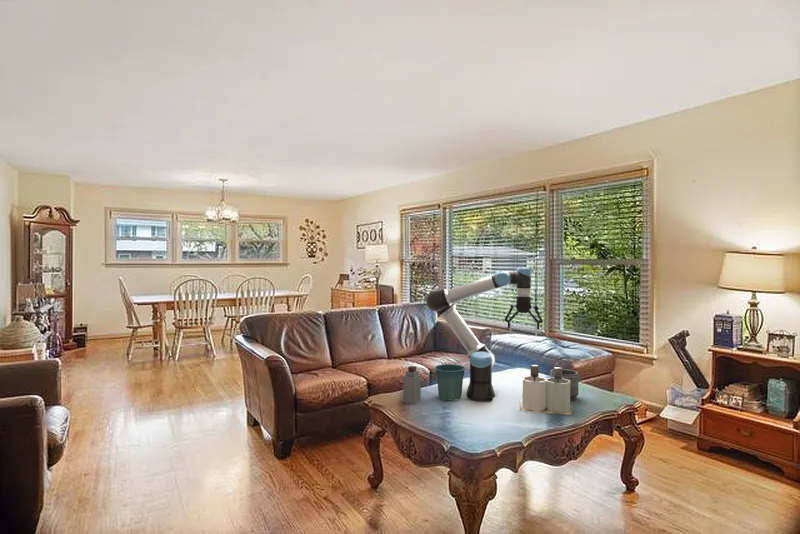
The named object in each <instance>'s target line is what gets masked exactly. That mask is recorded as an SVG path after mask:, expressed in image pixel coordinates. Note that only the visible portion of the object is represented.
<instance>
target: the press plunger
mask: <svg viewBox="0 0 800 534" xmlns="http://www.w3.org/2000/svg"><path fill="white" fill-rule="evenodd" d="M539 373H540V372H539V365H537V364H531V365H530V375H529V376H532V377H533V381H534V382H536V377H540V376H539Z"/></svg>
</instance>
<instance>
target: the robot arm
mask: <svg viewBox="0 0 800 534" xmlns="http://www.w3.org/2000/svg"><path fill="white" fill-rule="evenodd" d="M531 270H532V269H531V268H530V267H517V268H516V270H515V271H509V270H505V271H504V270H498V271H497V270H495V271H494V274H491V275H488V276H486V277H482V278H479V279H476V280H474V281H470V282H467V283H465V284H462V285H460V286H459V285H458V286H456V287H452V288H450V289H447V288H444V289H443V288H441V289H435V290H433V291H431V292H429V294H428V295H427V296H426V298H425V303H426V304H425V305H426V306H427V308H428V309H429V310H430V311H432V312H436V314H437V316H438V317H440V318H443V319H444V320H445V322H446V324H447V325H448V326H449V328H450V329H451V330H452V332H453V333H454V335H455V336H456V338H457V339H458V341H460V343H461V345H462V346H463V347H464V348H465V350H466V351H467V357H468V359H469V384H468V385H467V386H468V387H467V389H466V392H465V393H466V395H465V396H466V398H467V399H468V400H470V401H474V402H490V401H491V402H492V401H493V399H494V398H495V397H496V393H495V390H494V387H493V382H492V381H493V378H492V377H493V368H495V366H496V357H495V354H494V353H493V352H492V351H491V350H490V349H488V348H487V346H486V344H485V343H481V342H480V341H479V340H478V338H477V336H475V334H474V332H473V331H472V330H471V328H470V327H469V326H468V324H467V323H466V321H465V320H464V319H463V318H462V316H461V315H460V313H459V312H458V311H457V308H456V307H457V305H456V303H457V302H460V301H463V300H467V299H468V298H472V297H475V296H478V295H482V294H484V293H487V292H491V291H494V290H497V289H499V288H502V287H507V286H516V304H510V307H509V310H508V312H507V314H506V315H505V317H504V321H505V322H507V329H509V335H512V320H513V319H514V318H515V317H516V316H517V315H518V314H519V313H520V314H529V315H530V316H531V317H532V319H533V320H534V321H535V325H534V326H535V337H536V336H538V330H539V329H540V324H541V323H543V321H544V320H543V319H542V317H541V315H540V312H539V311H538V310H539V309H538V306H537V305H536V304H534V305H532V297H531V296H532V271H531ZM514 309H516V310H515V312H514V313H513V314H512V315H511V313H512V312H513V310H514ZM531 309H532V310H534V311H535V313H536V315H534V314H533V312H532V311H531ZM510 315H511V316H510ZM536 316H537V317H538V318H537V317H536ZM509 317H510V318H509Z"/></svg>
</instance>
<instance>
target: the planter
mask: <svg viewBox="0 0 800 534" xmlns="http://www.w3.org/2000/svg"><path fill="white" fill-rule="evenodd" d="M552 377H553V378H554V368H553V369H550V373H549V378H552ZM562 378H563V379H567V380H570V402H571V401H574V400H576V398H577V397H578V395H579V381H580V380H579V372H578V371H576V370H573V369H567V368H562Z"/></svg>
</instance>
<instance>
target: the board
mask: <svg viewBox="0 0 800 534" xmlns="http://www.w3.org/2000/svg"><path fill="white" fill-rule="evenodd" d="M518 405H519V406H518V407H519V411H520V412H533V413H545V414H555V415H556V414H557V415H558V414H559V415H570V416H573V413H572V411H571V409H570V411H569V412H566V413H557V412H552V411H549V410H547V409H545V410H542V411H532V410H527V409H525V408H523V401H519V404H518Z"/></svg>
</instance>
